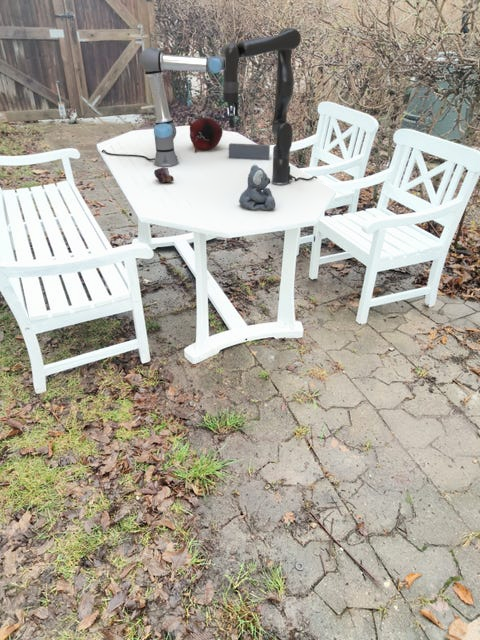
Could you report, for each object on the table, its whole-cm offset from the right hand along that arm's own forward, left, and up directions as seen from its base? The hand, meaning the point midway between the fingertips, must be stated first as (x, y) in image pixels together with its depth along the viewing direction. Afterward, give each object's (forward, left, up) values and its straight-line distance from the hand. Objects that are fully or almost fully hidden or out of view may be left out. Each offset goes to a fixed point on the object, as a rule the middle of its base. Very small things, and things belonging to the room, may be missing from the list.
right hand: (231, 125), depth 233 cm
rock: (+35, -24, -33) cm, 54 cm away
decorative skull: (-8, -93, -33) cm, 99 cm away
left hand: (-20, -63, -8) cm, 66 cm away
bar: (-29, -57, -33) cm, 72 cm away
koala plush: (-4, +30, -33) cm, 45 cm away
